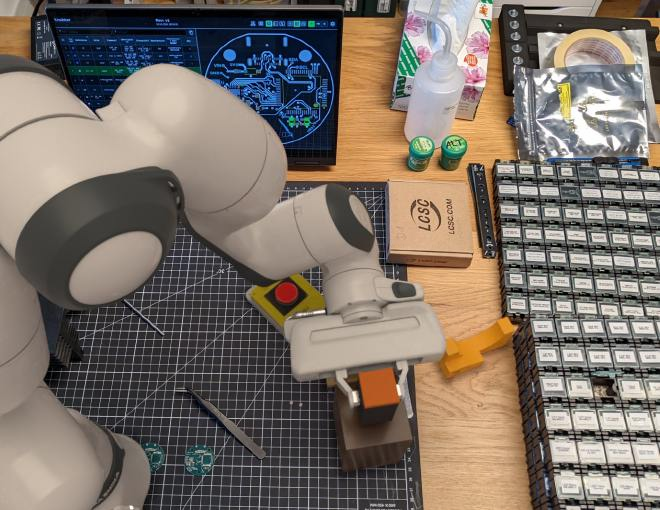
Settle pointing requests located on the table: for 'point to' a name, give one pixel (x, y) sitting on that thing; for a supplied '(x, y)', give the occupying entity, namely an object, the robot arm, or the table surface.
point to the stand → (369, 435)
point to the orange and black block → (377, 396)
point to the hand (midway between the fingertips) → (378, 403)
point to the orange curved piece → (474, 348)
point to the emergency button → (285, 299)
